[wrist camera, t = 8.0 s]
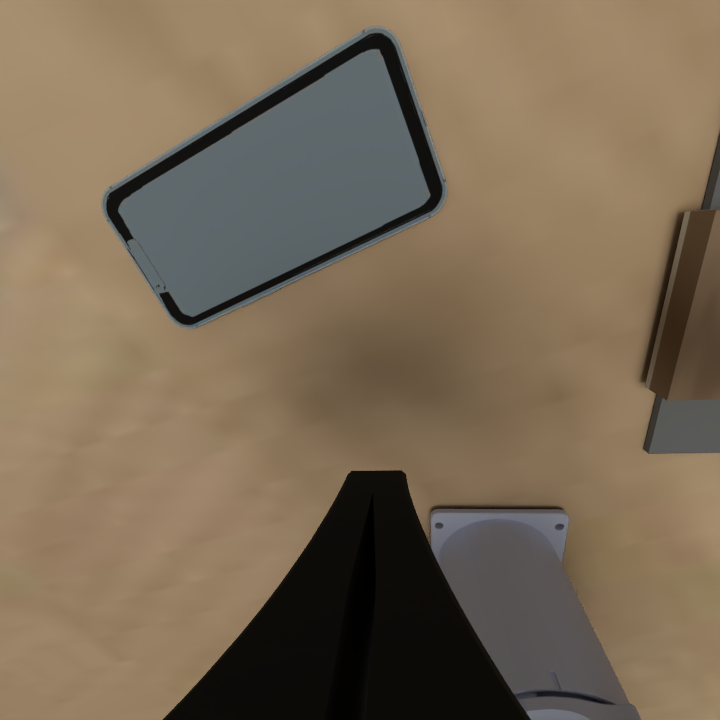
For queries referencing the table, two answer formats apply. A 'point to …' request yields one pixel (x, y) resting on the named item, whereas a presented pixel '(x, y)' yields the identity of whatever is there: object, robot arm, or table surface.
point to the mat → (688, 417)
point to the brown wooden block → (691, 316)
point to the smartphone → (282, 184)
